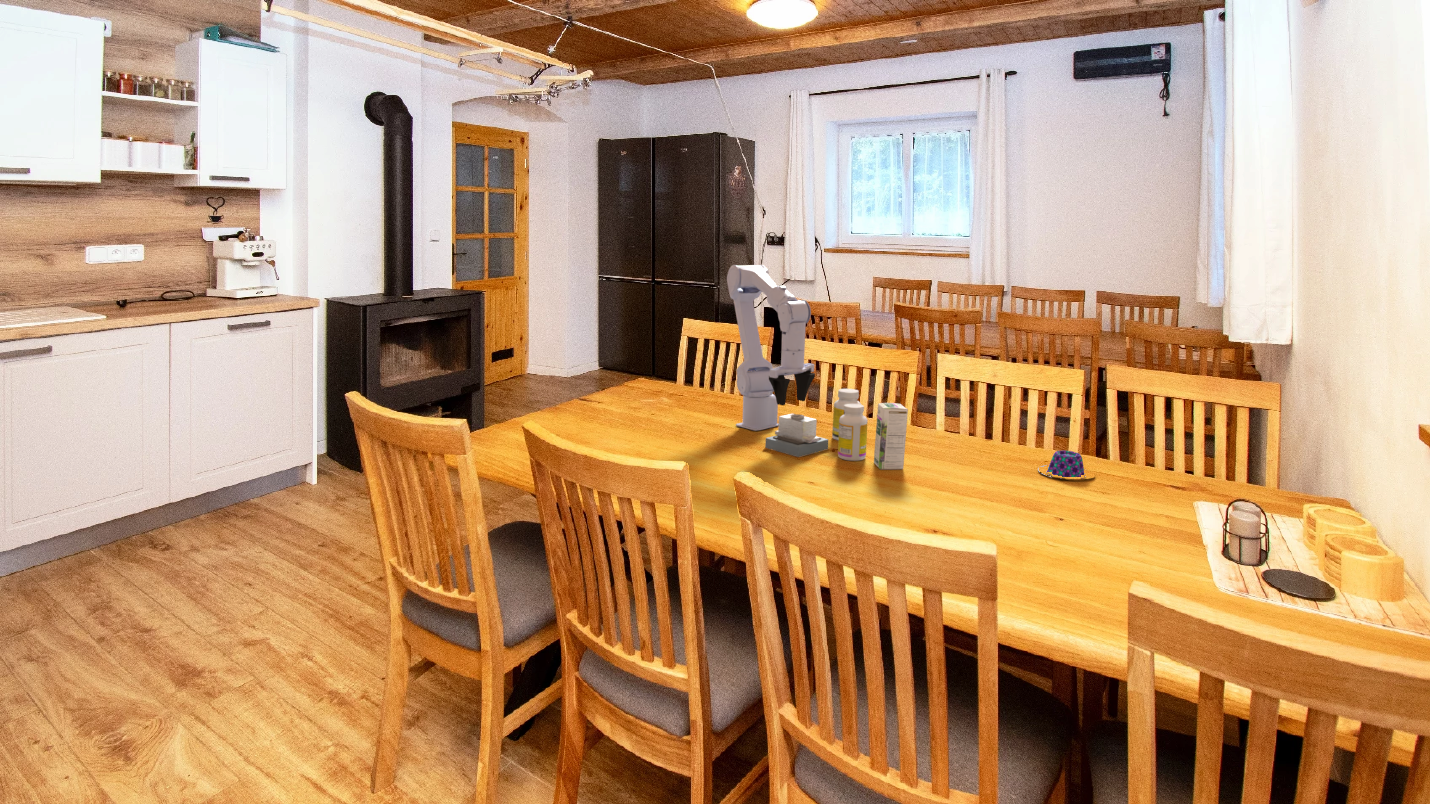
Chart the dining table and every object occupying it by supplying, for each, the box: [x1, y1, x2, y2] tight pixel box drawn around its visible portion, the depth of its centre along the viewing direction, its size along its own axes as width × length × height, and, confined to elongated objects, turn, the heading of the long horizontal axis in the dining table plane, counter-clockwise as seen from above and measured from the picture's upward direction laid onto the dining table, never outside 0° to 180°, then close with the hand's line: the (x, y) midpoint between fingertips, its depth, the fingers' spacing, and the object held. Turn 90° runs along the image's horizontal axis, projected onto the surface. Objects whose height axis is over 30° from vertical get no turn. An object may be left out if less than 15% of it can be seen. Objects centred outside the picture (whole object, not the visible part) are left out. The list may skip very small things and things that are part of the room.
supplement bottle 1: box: [831, 388, 862, 441], centre depth 217 cm, size 7×7×13 cm
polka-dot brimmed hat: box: [1037, 450, 1085, 478], centre depth 191 cm, size 12×12×5 cm
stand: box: [764, 434, 829, 458], centre depth 209 cm, size 11×11×3 cm
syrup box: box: [873, 402, 909, 470], centre depth 194 cm, size 6×6×14 cm
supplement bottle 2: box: [837, 404, 868, 462], centre depth 200 cm, size 7×7×13 cm
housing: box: [774, 413, 820, 443], centre depth 208 cm, size 5×11×6 cm, turn 42°
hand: (791, 402), depth 212 cm, fingers open, 7 cm apart
